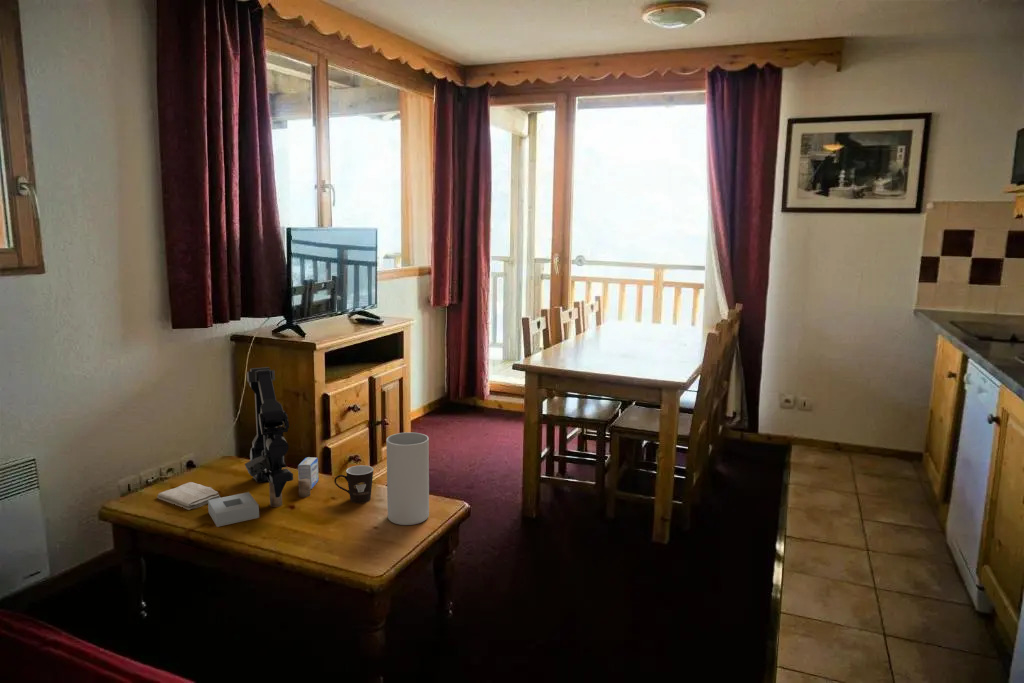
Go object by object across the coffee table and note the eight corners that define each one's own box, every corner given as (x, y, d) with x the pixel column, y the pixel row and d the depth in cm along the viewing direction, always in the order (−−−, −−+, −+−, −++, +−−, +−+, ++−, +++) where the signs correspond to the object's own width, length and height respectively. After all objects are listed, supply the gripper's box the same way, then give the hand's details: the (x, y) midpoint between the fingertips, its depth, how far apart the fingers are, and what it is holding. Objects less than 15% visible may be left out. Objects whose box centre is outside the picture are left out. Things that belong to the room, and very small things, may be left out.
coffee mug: (378, 495, 224) (377, 466, 222) (368, 505, 216) (367, 475, 214) (344, 492, 226) (344, 463, 224) (333, 502, 217) (332, 472, 216)
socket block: (208, 512, 208) (207, 500, 208) (249, 504, 215) (248, 492, 215) (216, 526, 199) (216, 513, 198) (259, 517, 205) (258, 505, 205)
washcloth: (190, 512, 210) (189, 503, 209) (155, 500, 219) (154, 491, 218) (223, 499, 220) (223, 490, 219) (189, 488, 229) (188, 479, 228)
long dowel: (268, 504, 216) (267, 477, 214) (280, 501, 218) (279, 474, 216) (272, 508, 213) (270, 480, 211) (283, 505, 215) (282, 478, 213)
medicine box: (311, 489, 228) (310, 465, 227) (298, 489, 228) (297, 464, 227) (318, 481, 236) (318, 457, 234) (306, 480, 236) (305, 456, 234)
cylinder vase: (435, 511, 212) (434, 434, 207) (419, 528, 200) (418, 447, 196) (398, 507, 215) (397, 430, 211) (380, 523, 203) (379, 442, 199)
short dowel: (297, 494, 224) (296, 480, 223) (308, 492, 226) (307, 478, 225) (300, 498, 221) (300, 483, 220) (311, 495, 223) (311, 481, 222)
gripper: (239, 444, 215) (241, 490, 218) (254, 460, 200) (257, 511, 202) (275, 438, 221) (277, 483, 224) (292, 454, 206) (294, 503, 209)
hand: (275, 495), depth 215 cm, fingers closed on long dowel, 4 cm apart
